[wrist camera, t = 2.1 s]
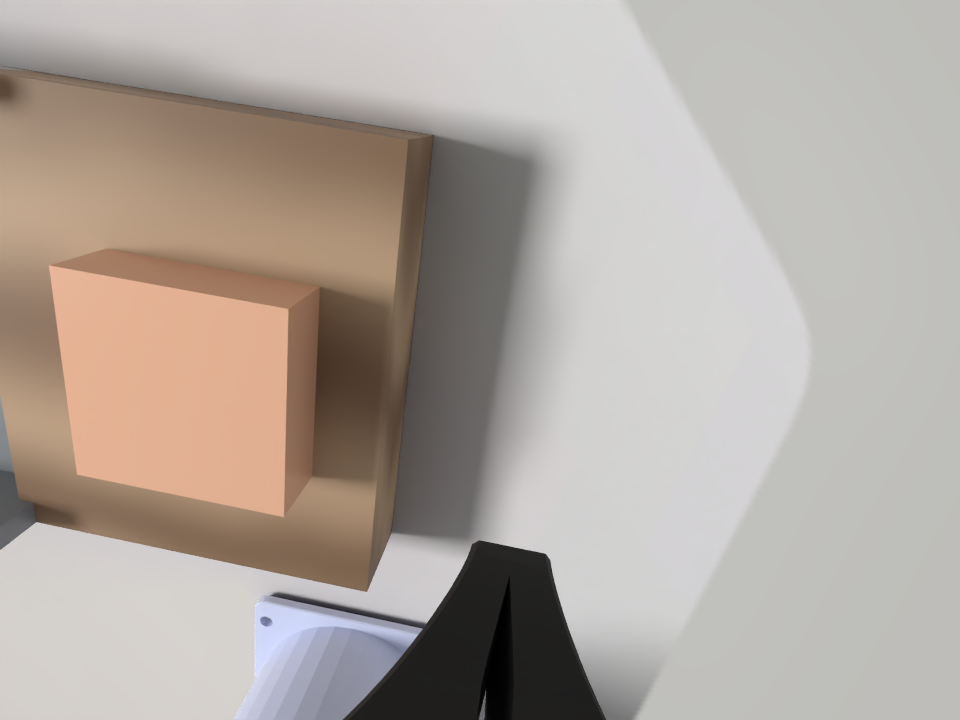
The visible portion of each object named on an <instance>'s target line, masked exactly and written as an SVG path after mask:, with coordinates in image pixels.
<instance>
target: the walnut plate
mask: <svg viewBox="0 0 960 720" xmlns="http://www.w3.org/2000/svg"><path fill="white" fill-rule="evenodd" d="M433 136H434V135H429V134H423V133H417V132H411V131H404V130H398V129H392V128H386V127H379V126H373V125H367V124H361V123H354V122H348V121H342V120H336V119H329V118H323V117H317V116H311V115H304V114H298V113H292V112H286V111H279V110H273V109H267V108H261V107H254V106H248V105H242V104H236V103H229V102H223V101H217V100H211V99H204V98H198V97H192V96H186V95H179V94H173V93H167V92H161V91H154V90H148V89H142V88H136V87H129V86H123V85H117V84H111V83H104V82H98V81H92V80H86V79H79V78H73V77H67V76H61V75H54V74H48V73H42V72H35V71H22V70H9V69H0V397H1V402H2V408H3V413H4V419H5V424H6V430H7V436H8V441H9V447H10V452H11V458H12V463H13V469H14V474H15V480H16V485H17V491H18V496H19V500H24V501H29V502H33V505H34V511H35V517H36V522H39V523H44V524H49V525H53V526H58V527H63V528H67V529H72V530H77V531H82V532H86V533H91V534H96V535H100V536H105V537H110V538H115V539H119V540H124V541H129V542H134V543H138V544H143V545H148V546H152V547H157V548H162V549H167V550H171V551H176V552H181V553H185V554H190V555H195V556H200V557H204V558H209V559H214V560H218V561H223V562H228V563H233V564H237V565H242V566H247V567H252V568H256V569H261V570H266V571H270V572H275V573H280V574H285V575H289V576H294V577H299V578H303V579H308V580H313V581H318V582H322V583H327V584H332V585H337V586H341V587H346V588H351V589H355V590H360V591H365V592H367V590H368V588H369V586H370V583H371V581H372V578H373V576H374V574H375V571H376V569H377V566H378V564H379V562H380V559H381V557H382V554H383V552H384V550H385V547H386V545H387V542H388V540H389V538H390V535H391V531H392V521H393V512H394V502H395V493H396V484H397V474H398V465H399V455H400V446H401V437H402V427H403V418H404V408H405V399H406V390H407V380H408V371H409V362H410V352H411V343H412V333H413V324H414V315H415V305H416V296H417V286H418V277H419V268H420V258H421V249H422V239H423V230H424V221H425V211H426V202H427V193H428V183H429V174H430V164H431V155H432V146H433ZM103 249H112V250H118V251H123V252H129V253H134V254H140V255H145V256H151V257H157V258H162V259H168V260H173V261H179V262H185V263H190V264H196V265H201V266H207V267H213V268H218V269H224V270H229V271H235V272H240V273H246V274H252V275H257V276H263V277H268V278H274V279H280V280H285V281H291V282H296V283H302V284H308V285H313V286H319V287H320V299H319V323H318V346H317V370H316V393H315V417H314V440H313V464H312V478H311V479H310V480H309V482H308V483H307V485H306V486H305V488H304V489H303V490H302V492H301V493H300V495H299V496H298V498H297V499H296V501H295V502H294V503H293V505H292V506H291V508H290V509H289V511H288V512H287V513H286V515H285V516H284V517H281V516H276V515H271V514H266V513H262V512H257V511H252V510H247V509H242V508H237V507H232V506H227V505H223V504H218V503H213V502H208V501H203V500H198V499H193V498H189V497H184V496H179V495H174V494H169V493H164V492H159V491H154V490H150V489H145V488H140V487H135V486H130V485H125V484H120V483H116V482H111V481H106V480H101V479H96V478H91V477H86V476H81V475H77V471H76V464H75V456H74V449H73V441H72V434H71V426H70V419H69V411H68V404H67V396H66V389H65V382H64V374H63V367H62V359H61V352H60V344H59V337H58V329H57V322H56V314H55V307H54V300H53V292H52V285H51V277H50V270H49V265H52V264H55V263H59V262H62V261H66V260H69V259H72V258H76V257H79V256H82V255H86V254H89V253H93V252H96V251H99V250H103Z"/></svg>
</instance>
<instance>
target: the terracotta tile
mask: <svg viewBox="0 0 960 720" xmlns="http://www.w3.org/2000/svg"><path fill="white" fill-rule="evenodd" d="M49 270H50V277H51V285H52V292H53V300H54V307H55V314H56V322H57V329H58V337H59V344H60V352H61V359H62V367H63V374H64V382H65V389H66V396H67V404H68V411H69V419H70V426H71V434H72V441H73V449H74V456H75V464H76V471H77V475H81V476H86V477H91V478H96V479H101V480H106V481H111V482H116V483H120V484H125V485H130V486H135V487H140V488H145V489H150V490H154V491H159V492H164V493H169V494H174V495H179V496H184V497H189V498H193V499H198V500H203V501H208V502H213V503H218V504H223V505H227V506H232V507H237V508H242V509H247V510H252V511H257V512H262V513H266V514H271V515H276V516H281V517H284V516H285V515H286V513H287V512H288V511H289V509H290V508H291V506H292V505H293V503H294V502H295V501H296V499H297V498H298V496H299V495H300V493H301V492H302V490H303V489H304V488H305V486H306V485H307V483H308V482H309V480H310V479H311V478H312V464H313V440H314V417H315V393H316V370H317V346H318V323H319V299H320V287H319V286H313V285H308V284H302V283H296V282H291V281H285V280H280V279H274V278H268V277H263V276H257V275H252V274H246V273H240V272H235V271H229V270H224V269H218V268H213V267H207V266H201V265H196V264H190V263H185V262H179V261H173V260H168V259H162V258H157V257H151V256H145V255H140V254H134V253H129V252H123V251H118V250H112V249H103V250H99V251H96V252H93V253H89V254H86V255H82V256H79V257H76V258H72V259H69V260H66V261H62V262H59V263H55V264H52V265H49Z"/></svg>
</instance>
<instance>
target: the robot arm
mask: <svg viewBox="0 0 960 720" xmlns="http://www.w3.org/2000/svg"><path fill="white" fill-rule="evenodd" d="M267 617H269V618H270V619H269V618H267ZM485 691H486V704H485V720H606V718H605V716H604V714H603V712H602V710H601V708H600V705H599V703H598V701H597V699H596V696H595V694H594V692H593V690H592V687H591V685H590V683H589V681H588V678H587V676H586V673H585V671H584V668H583V666H582V664H581V661H580V658H579V656H578V653H577V650H576V648H575V645H574V642H573V640H572V637H571V634H570V631H569V629H568V626H567V623H566V620H565V617H564V614H563V610H562V607H561V604H560V601H559V597H558V594H557V590H556V586H555V582H554V578H553V573H552V569H551V562H550V559H549V558H548V557H547V555H546V554H544V553H539V552H534V551H529V550H524V549H519V548H514V547H509V546H504V545H499V544H495V543H490V542H485V541H480V540H479V541H477V542H475V543H474V544H472V547H471V550H470V552H469V555H468V557H467V559H466V561H465V564H464V566H463V567H462V569H461V571H460V573H459V575H458V577H457V578H456V580H455V582H454V583H453V585H452V587H451V588H450V590H449V592H448V593H447V595H446V596H445V598H444V599H443V601H442V602H441V604H440V605H439V607H438V608H437V610H436V611H435V613H434V614H433V616H432V617H431V618H430V620H429V621H428V623H427V624H426V625H425V627H424V628H423V629H422V628H417V627H413V626H408V625H403V624H399V623H394V622H389V621H385V620H380V619H375V618H371V617H366V616H361V615H357V614H352V613H347V612H343V611H338V610H334V609H329V608H324V607H320V606H315V605H310V604H306V603H301V602H296V601H292V600H287V599H282V598H278V597H273V596H264V597H261V598H260V599H259V601H258V602H257V604H256V606H255V681H254V683H253V685H252V686H251V688H250V690H249V692H248V694H247V695H246V697H245V699H244V701H243V703H242V705H241V706H240V708H239V710H238V712H237V714H236V715H235V717H234V719H233V720H479V716H480V712H481V708H482V704H483V699H484V695H485Z"/></svg>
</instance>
